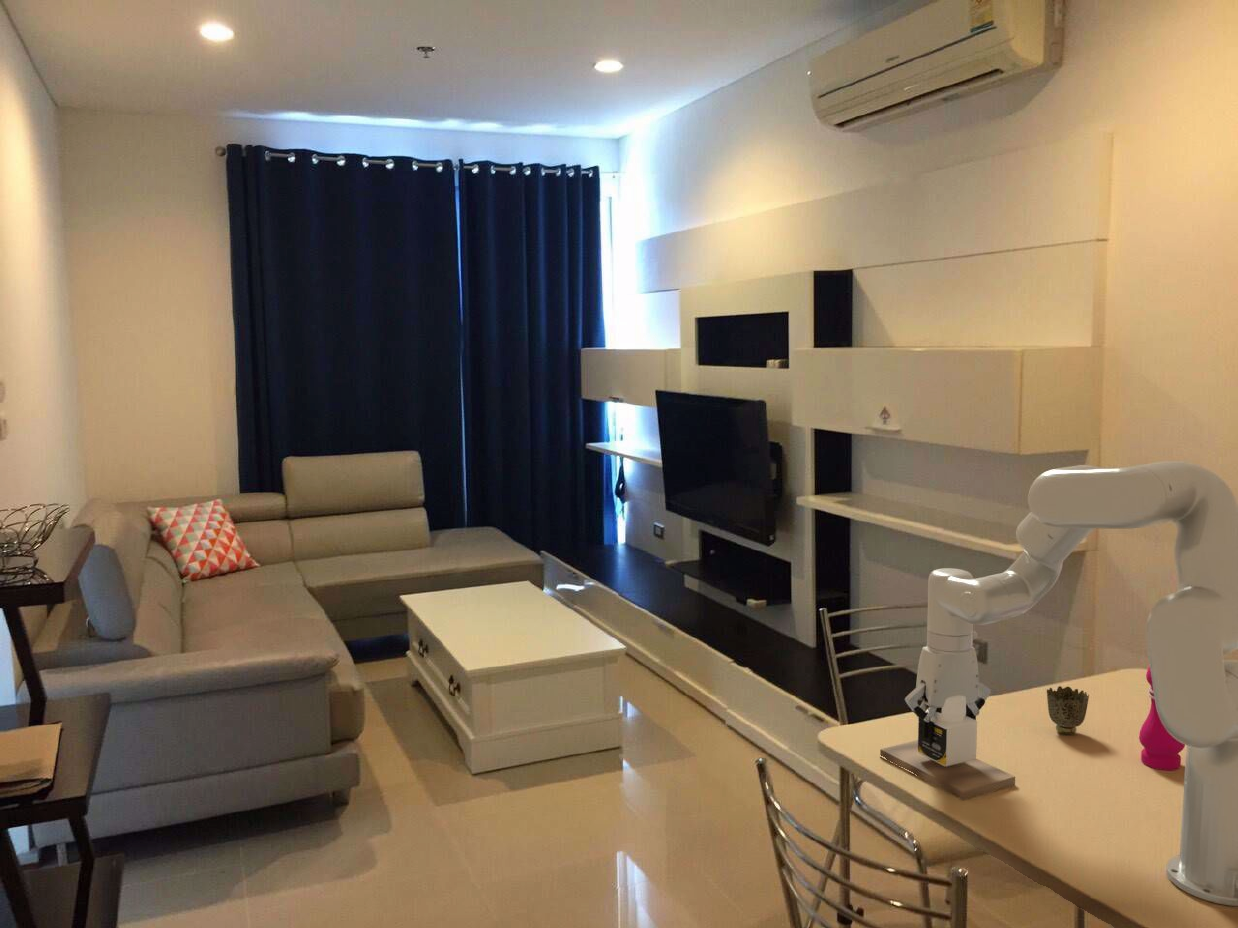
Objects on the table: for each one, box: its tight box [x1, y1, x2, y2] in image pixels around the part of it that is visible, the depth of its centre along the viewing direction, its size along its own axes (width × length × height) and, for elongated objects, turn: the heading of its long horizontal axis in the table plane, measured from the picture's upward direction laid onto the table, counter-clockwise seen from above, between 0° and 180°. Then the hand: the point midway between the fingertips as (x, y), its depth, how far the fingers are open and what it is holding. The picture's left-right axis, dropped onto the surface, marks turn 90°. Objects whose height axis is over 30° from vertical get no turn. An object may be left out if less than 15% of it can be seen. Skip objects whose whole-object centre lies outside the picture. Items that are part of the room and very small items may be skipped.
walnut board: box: [879, 739, 1016, 801], centre depth 182 cm, size 20×12×2 cm, turn 27°
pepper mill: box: [1138, 666, 1186, 771], centre depth 183 cm, size 7×7×20 cm
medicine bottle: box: [917, 696, 978, 767], centre depth 181 cm, size 7×7×12 cm
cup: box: [1046, 685, 1090, 736], centre depth 198 cm, size 8×7×8 cm
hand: (947, 737), depth 181 cm, fingers closed on medicine bottle, 7 cm apart
